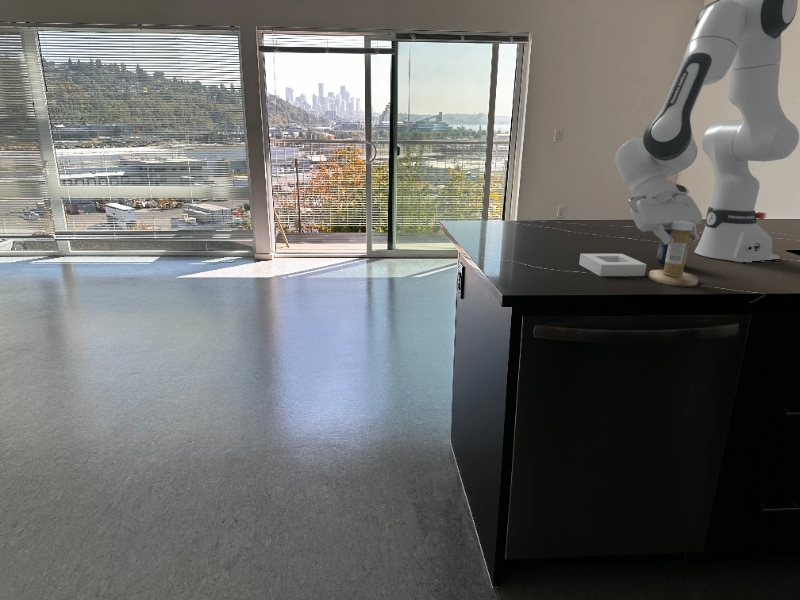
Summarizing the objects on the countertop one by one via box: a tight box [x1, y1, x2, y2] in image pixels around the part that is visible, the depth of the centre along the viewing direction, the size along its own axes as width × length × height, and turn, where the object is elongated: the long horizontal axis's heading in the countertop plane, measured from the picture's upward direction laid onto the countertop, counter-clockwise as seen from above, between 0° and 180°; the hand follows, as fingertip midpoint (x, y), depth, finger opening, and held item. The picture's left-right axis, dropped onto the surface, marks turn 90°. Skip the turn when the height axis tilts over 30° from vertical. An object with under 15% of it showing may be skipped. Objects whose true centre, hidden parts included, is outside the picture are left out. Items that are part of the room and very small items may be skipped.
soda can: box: [656, 229, 671, 267], centre depth 140 cm, size 7×7×12 cm
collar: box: [578, 253, 647, 277], centre depth 134 cm, size 12×12×3 cm
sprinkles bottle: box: [663, 220, 693, 277], centre depth 124 cm, size 5×5×14 cm
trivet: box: [647, 269, 699, 287], centre depth 126 cm, size 11×11×1 cm
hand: (682, 241), depth 123 cm, fingers open, 8 cm apart
